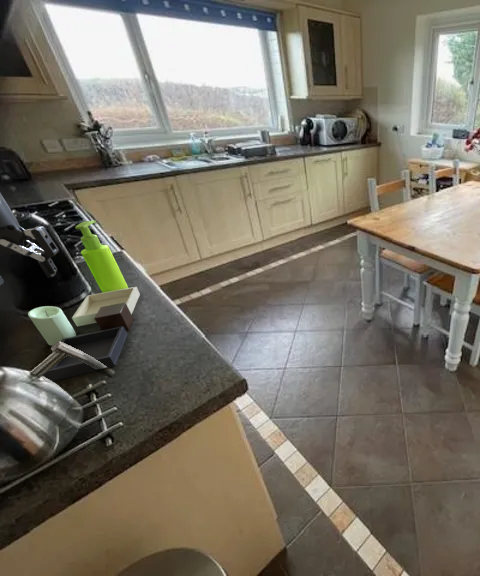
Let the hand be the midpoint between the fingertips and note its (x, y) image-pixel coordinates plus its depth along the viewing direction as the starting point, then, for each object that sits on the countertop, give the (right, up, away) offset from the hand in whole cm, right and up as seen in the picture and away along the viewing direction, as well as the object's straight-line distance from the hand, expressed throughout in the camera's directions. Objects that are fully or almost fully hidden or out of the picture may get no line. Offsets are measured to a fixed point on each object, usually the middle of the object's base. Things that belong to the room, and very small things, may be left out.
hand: (26, 280), depth 68 cm
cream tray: (+3, -7, +18) cm, 19 cm away
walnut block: (+10, -11, +11) cm, 19 cm away
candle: (0, -14, +8) cm, 16 cm away
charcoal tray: (+11, -16, +2) cm, 20 cm away
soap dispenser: (-3, -2, +26) cm, 26 cm away
